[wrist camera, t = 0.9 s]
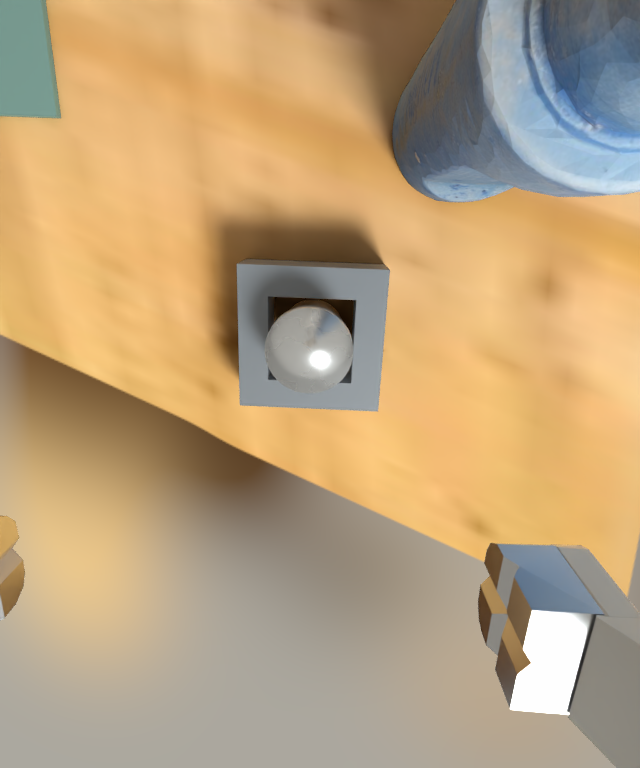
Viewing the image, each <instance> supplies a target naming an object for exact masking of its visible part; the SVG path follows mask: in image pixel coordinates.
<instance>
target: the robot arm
mask: <svg viewBox="0 0 640 768" xmlns="http://www.w3.org/2000/svg"><path fill="white" fill-rule="evenodd" d="M18 539H19V535H18V531H17V527H16V522H15V521H14V520H13V519H11V518H9V517H8V516H0V620H2V619H4V618H5V617H6V616H7V614H8V613H9V612H10V611H11V610H12V608H13V607H14V606H15V605H16V603H17V601H18V598H19V596H20V594H21V591H22V589H23V586H24V576H25V569H24V563H23V559H22V558H21V557H20V556H19V555H18V554H17V553H16V552H15V551H14V550H13V549H12V548H13V546H14V545H15V543H16V542H17V540H18ZM484 563H485V566H486V568H487V570H488V573H489V575H490V576H489V577H488V578H487V579H486V580H485V581H484V582H483V583H482V584H481V585H480V591H479V598H478V612H479V622H480V627H481V631H482V635H483V638H484V640H485V643H486V646H488V647H489V648H490V649H491V650H492V651H493V652H495V654H497V655H498V657H497V663H496V667H495V670H496V673H497V676H498V678H499V681H500V684H501V687H502V689H503V692H504V695H505V697H506V700H507V702H508V705H509V708H510V709H512V710H523V711H534V712H545V713H557V714H568V715H569V716H568V718H569V719H570V720H571V721H572V722H573V723H574V724H575V725H576V726H577V727H578V728H579V729H580V731H582V733H583V734H584V735H585V736H586V737H587V738H588V739H589V740H590V741H591V742H592V743H593V744H594V745H595V746H596V747H597V748H598V749H599V750H600V751H601V752H602V753H603V754H604V755H605V756H606V757H607V758H608V759H609V761H611V763H612V764H613V765H614V766H616V768H640V613H639V612H638V610H637V609H636V608H635V607H634V605H633V604H632V603H631V602H630V600H629V599H628V598H627V597H626V595H625V594H624V593H623V592H622V590H621V589H620V588H619V587H618V585H617V584H616V583H615V582H614V581H613V579H612V578H611V577H610V576H609V574H608V573H607V572H606V571H605V569H604V568H603V567H602V566H601V564H600V563H599V562H598V561H597V559H596V558H595V557H594V556H593V554H592V553H591V552H590V551H589V550H588V549H587V548H585V547H583V546H581V545H531V544H506V543H490V545H489V547H488V549H487V552H486V557H485V562H484Z"/></svg>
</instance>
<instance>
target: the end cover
mask: <svg viewBox="0 0 640 768" xmlns="http://www.w3.org/2000/svg"><path fill="white" fill-rule="evenodd" d="M265 358H266V362H267V365H268V368H269V370H270V371H271V373H272V374H273V376H274V377H275V378H276V379H277V380H278V381H279V382H280V383H281V384H282V385H284V386H285V387H287V388H289V389H291V390H294V391H296V392H300V393H319V392H323V391H326V390H328V389H330V388H332V387H334V386H335V385H337V384H338V383H339V382H340V381H341V380H342V379H343V378H344V377H345V375H346V374H347V372H348V371H349V368H350V366H351V363H352V359H353V343H352V338H351V334H350V332H349V329H348V328H347V326H346V324H345V323H344V322H343V320H342V319H341V317H340V315H339V313H338V312H337V310H336V309H335V308H334V307H333V306H331V305H330V304H329V303H327V302H325V301H322V300H318V299H308V300H304V301H301V302H299V303H297V304H295V305H294V306H293V307H292V308H291V309H290V310H288V311H286V312H285V313H283V314H282V315H281V316H280V317H279V318H278V319H277V320H276V321H275V322H274V324H273V325H272V327H271V329H270V331H269V333H268V335H267V338H266V342H265Z"/></svg>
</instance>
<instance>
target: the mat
mask: <svg viewBox="0 0 640 768" xmlns="http://www.w3.org/2000/svg"><path fill="white" fill-rule="evenodd" d="M0 116H10V117H38V118H61V114H60V106H59V99H58V91H57V83H56V76H55V68H54V60H53V53H52V45H51V38H50V30H49V22H48V15H47V7H46V0H0Z"/></svg>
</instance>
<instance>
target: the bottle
mask: <svg viewBox="0 0 640 768" xmlns="http://www.w3.org/2000/svg"><path fill="white" fill-rule="evenodd" d="M392 136H393V150H394V155H395V159H396V161H397V164H398V166H399V168H400V171H401V172H402V174H403V176H404V177H405V179H406V180H407V182H408V183H409V184H410V185H411V186H412V187H413V188H415V189H416V190H417V191H419V192H421V193H422V194H424V195H425V196H427V197H430V198H432V199H434V200H438V201H445V202H472V201H478V200H481V199H485V198H488V197H491V196H494V195H497V194H499V193H501V192H504V191H506V190H508V189H511V188H513V187H517V188H519V189H522V190H527V191H532V192H537V193H542V194H547V195H552V196H558V197H587V196H603V195H624V194H629V193H634V192H639V191H640V0H456V2H455V3H454V5H453V7H452V9H451V11H450V12H449V14H448V16H447V18H446V19H445V21H444V23H443V25H442V27H441V28H440V30H439V32H438V33H437V35H436V37H435V38H434V40H433V42H432V43H431V45H430V47H429V48H428V50H427V51H426V53H425V54H424V56H423V57H422V59H421V61H420V63H419V64H418V66H417V68H416V70H415V72H414V74H413V76H412V78H411V80H410V81H409V83H408V85H407V86H406V88H405V90H404V91H403V93H402V95H401V98H400V100H399V103H398V106H397V109H396V112H395V116H394V122H393V131H392Z"/></svg>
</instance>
